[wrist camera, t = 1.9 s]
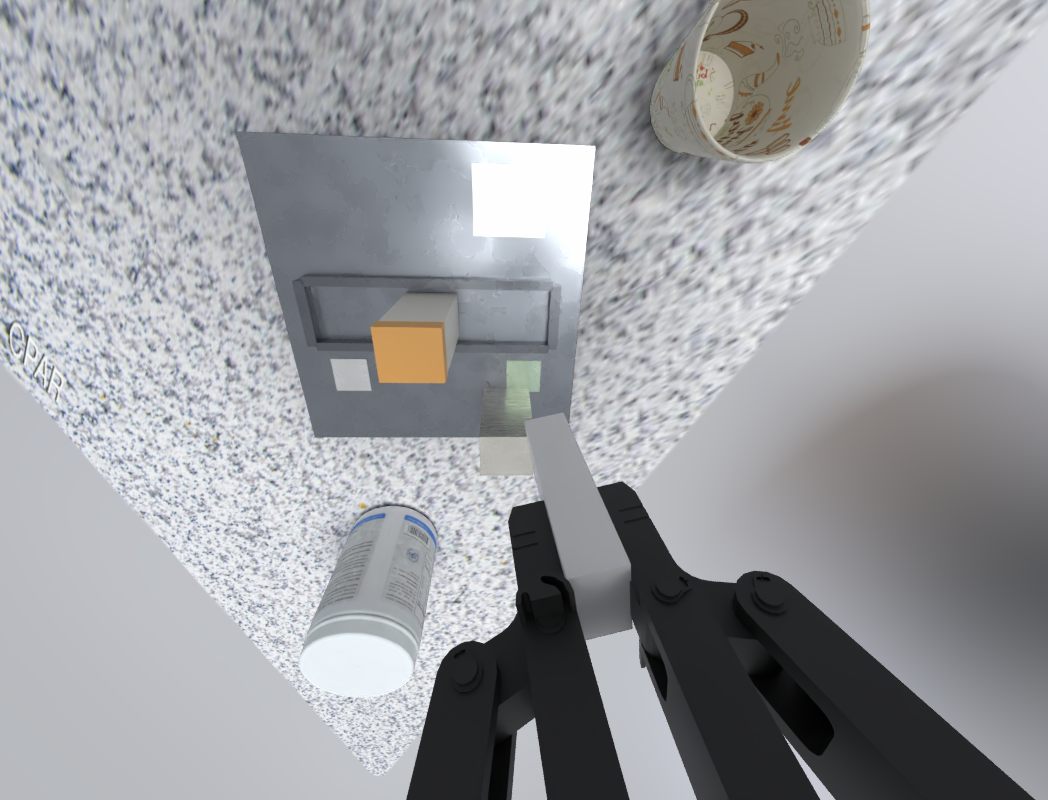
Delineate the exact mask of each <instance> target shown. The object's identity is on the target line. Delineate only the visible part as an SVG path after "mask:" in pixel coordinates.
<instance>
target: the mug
mask: <svg viewBox="0 0 1048 800" xmlns="http://www.w3.org/2000/svg"><path fill="white" fill-rule="evenodd" d="M869 31H870V5H869V0H709V7H708V8H707V10H706V11H705V12H704V14H703V15H702V16H701V18H700V19H699V21H698V22H697V23H696V25H695V26H694V27H693V29H692V30H691V32H690V33H689V34H688V36H687V37H686V38H685V40H684V41H683V43H682V44H681V45H680V47H679V48H678V49H677V51H676V52H675V54H674V55H673V56H672V58H671V59H670V60H669V62H668V63H667V65H666V66H665V67H664V69H663V70H662V72H661V74H660V75H659V77H658V79H657V82H656V84H655V87H654V89H653V93H652V97H651V104H650V116H651V123H652V127H653V130H654V132H655V134H656V136H657V138H658V139H659V140H660V142H661V143H662V144H663V145H664V146H666V147H667V148H668V149H670V150H672V151H675V152H678V153H682V154H688V155H694V156H701V157H707V158H713V159H720V160H726V161H732V162H739V163H762V162H768V161H772V160H776V159H779V158H782V157H784V156H787V155H789V154H791V153H793V152H794V151H796V150H798V149H800V148H801V147H803V146H804V145H806V144H807V143H808V142H810V141H811V140H812V139H813V138H815V137H816V136H817V135H818V134H819V133H820V132H821V131H822V130H823V129H824V128H825V127H826V126H827V125H828V124H829V123H830V122H831V120H832V119H833V118H834V117H835V116H836V114H837V113H838V111H839V110H840V109H841V107H842V106H843V104H844V102H845V101H846V99H847V98H848V96H849V94H850V92H851V90H852V88H853V86H854V84H855V82H856V80H857V78H858V75H859V72H860V70H861V67H862V64H863V61H864V57H865V54H866V49H867V44H868V39H869Z"/></svg>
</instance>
